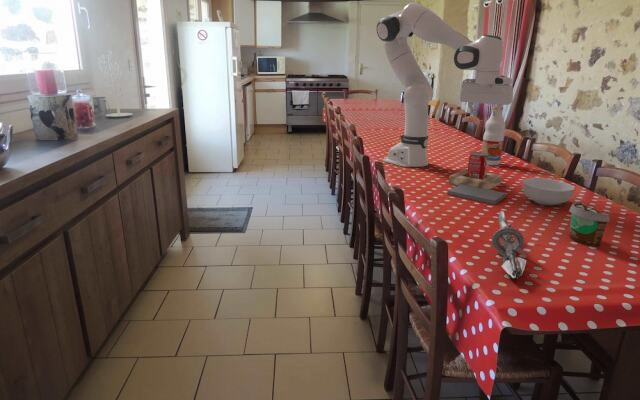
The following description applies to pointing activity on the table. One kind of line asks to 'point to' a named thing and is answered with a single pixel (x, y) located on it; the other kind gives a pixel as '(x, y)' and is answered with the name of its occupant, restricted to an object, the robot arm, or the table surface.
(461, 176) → the wooden holder
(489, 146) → the fruit juice
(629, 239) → the table surface
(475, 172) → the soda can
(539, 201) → the cereal bowl
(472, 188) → the charcoal board
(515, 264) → the spaceship
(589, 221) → the food container
